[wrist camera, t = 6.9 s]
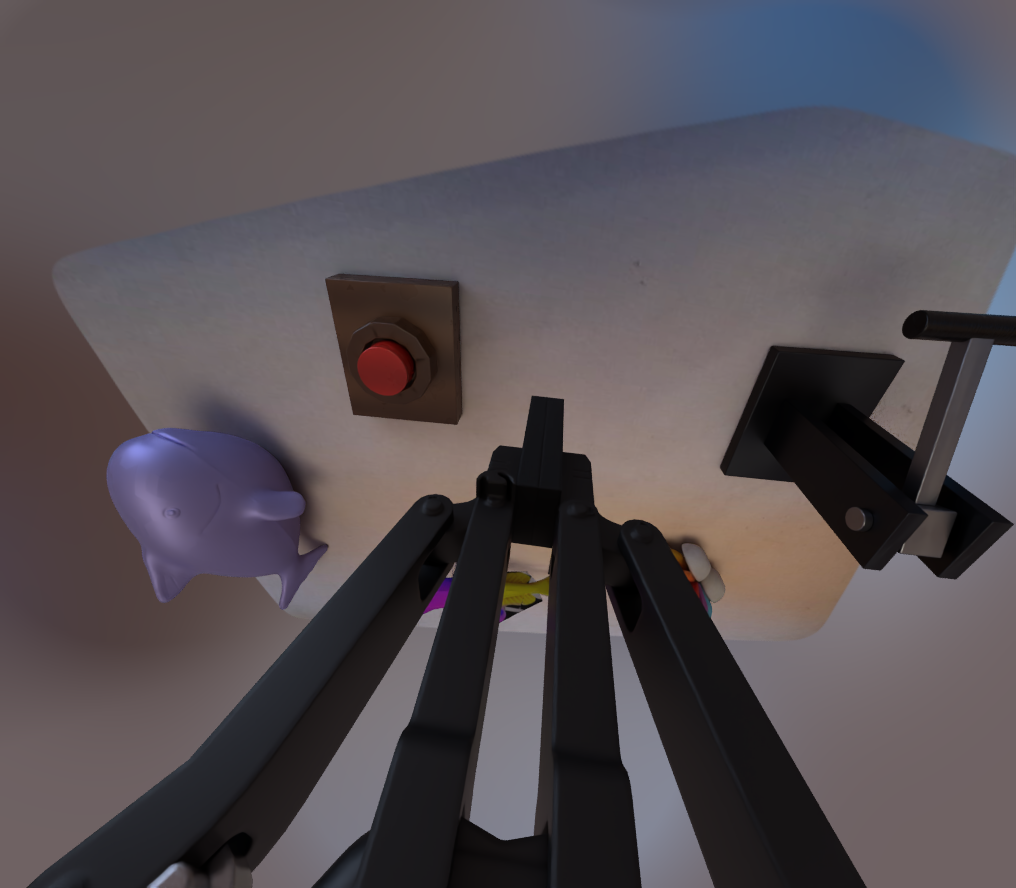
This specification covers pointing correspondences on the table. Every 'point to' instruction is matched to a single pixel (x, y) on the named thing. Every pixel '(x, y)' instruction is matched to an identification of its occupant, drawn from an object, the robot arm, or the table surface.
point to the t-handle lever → (947, 412)
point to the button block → (401, 342)
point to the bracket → (849, 457)
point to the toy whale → (209, 509)
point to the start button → (385, 367)
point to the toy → (516, 594)
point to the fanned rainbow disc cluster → (701, 575)
